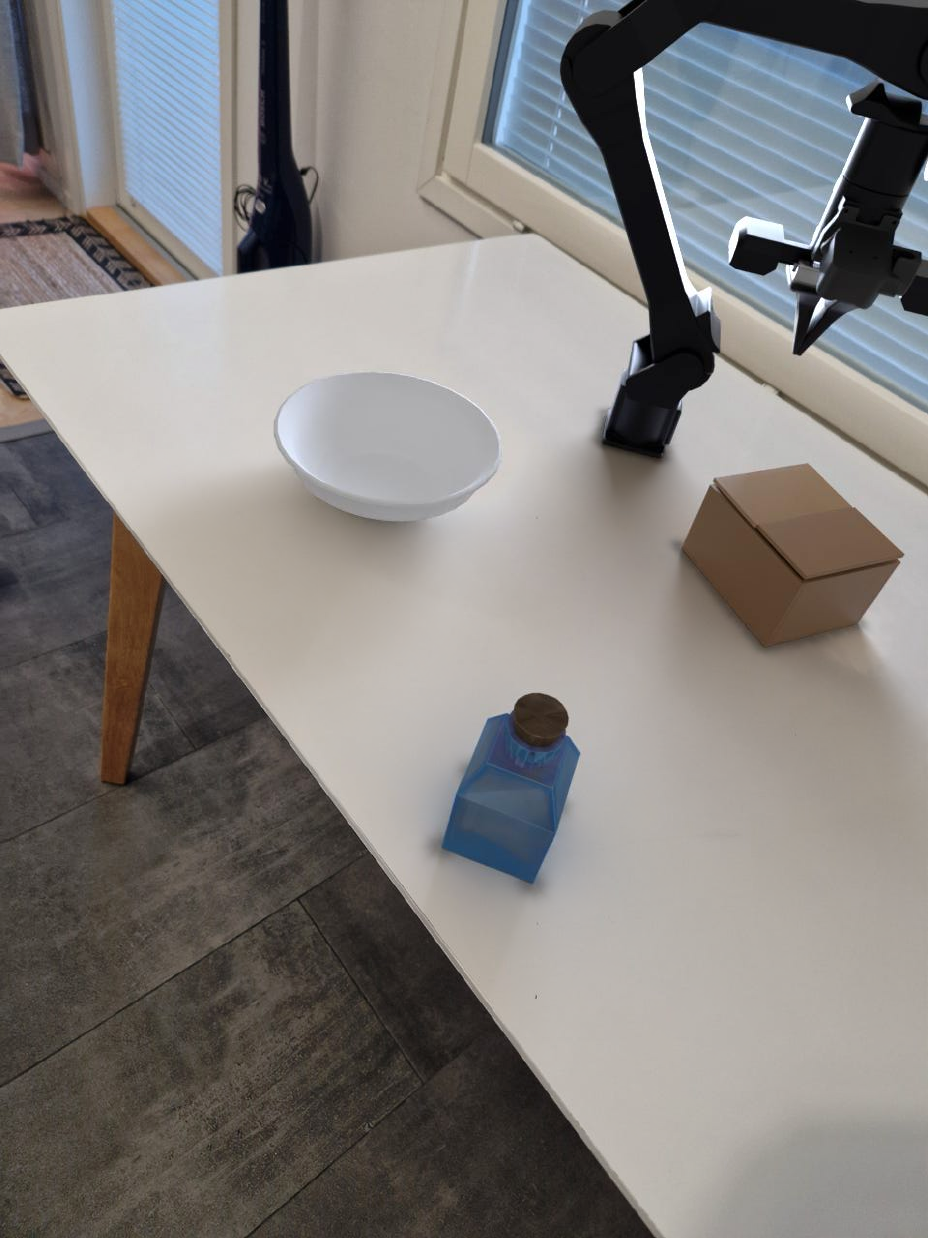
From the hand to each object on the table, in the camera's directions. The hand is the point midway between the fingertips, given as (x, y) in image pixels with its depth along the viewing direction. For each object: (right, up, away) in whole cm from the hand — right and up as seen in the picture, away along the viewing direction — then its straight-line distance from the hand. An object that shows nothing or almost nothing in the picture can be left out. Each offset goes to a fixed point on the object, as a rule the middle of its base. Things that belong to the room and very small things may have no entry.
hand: (795, 353), depth 83 cm
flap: (-4, -15, -8) cm, 17 cm away
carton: (-4, -22, -4) cm, 23 cm away
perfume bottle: (-29, -39, -26) cm, 55 cm away
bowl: (-39, -14, -3) cm, 42 cm away
